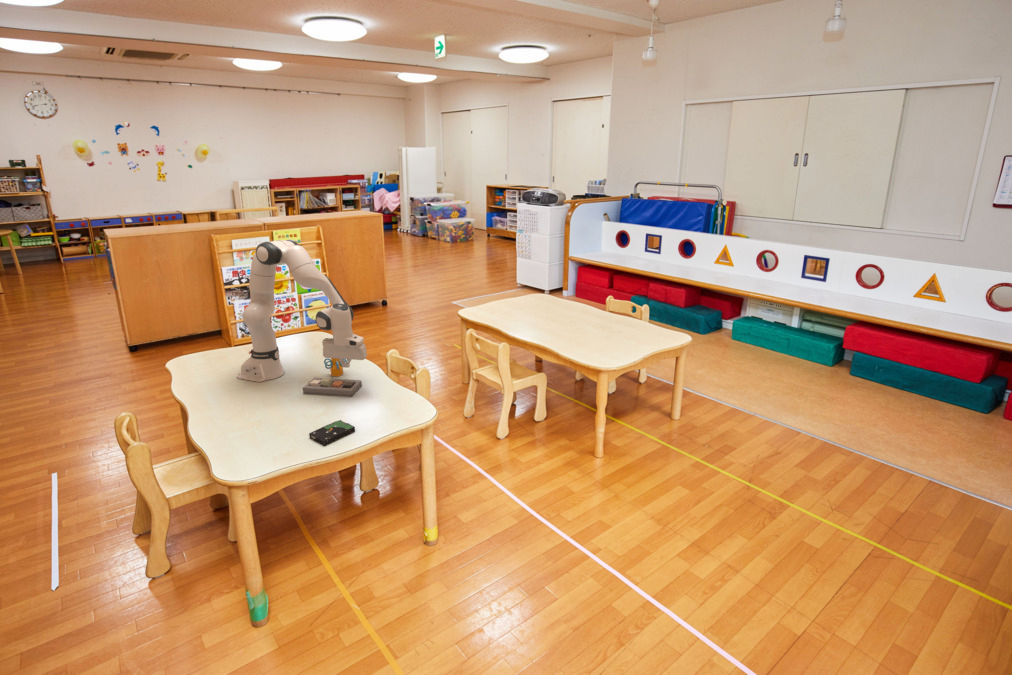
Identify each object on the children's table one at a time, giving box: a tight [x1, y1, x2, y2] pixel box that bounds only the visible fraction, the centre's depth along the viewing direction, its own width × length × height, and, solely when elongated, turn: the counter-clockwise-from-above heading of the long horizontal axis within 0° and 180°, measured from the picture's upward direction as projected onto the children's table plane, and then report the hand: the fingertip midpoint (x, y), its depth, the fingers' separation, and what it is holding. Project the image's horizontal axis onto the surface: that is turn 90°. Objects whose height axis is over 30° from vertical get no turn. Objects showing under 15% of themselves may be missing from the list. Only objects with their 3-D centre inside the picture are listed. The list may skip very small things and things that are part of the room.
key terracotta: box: [332, 381, 343, 388], centre depth 262 cm, size 4×4×2 cm
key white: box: [310, 380, 321, 386], centre depth 264 cm, size 4×4×2 cm
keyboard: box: [302, 377, 363, 398], centre depth 263 cm, size 24×12×3 cm, turn 82°
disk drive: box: [308, 419, 356, 447], centre depth 224 cm, size 10×3×15 cm
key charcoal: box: [343, 382, 354, 388], centre depth 262 cm, size 4×4×2 cm
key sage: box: [321, 377, 332, 386], centre depth 263 cm, size 4×4×2 cm
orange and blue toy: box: [323, 358, 348, 377], centre depth 279 cm, size 12×10×15 cm
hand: (346, 367), depth 258 cm, fingers closed
